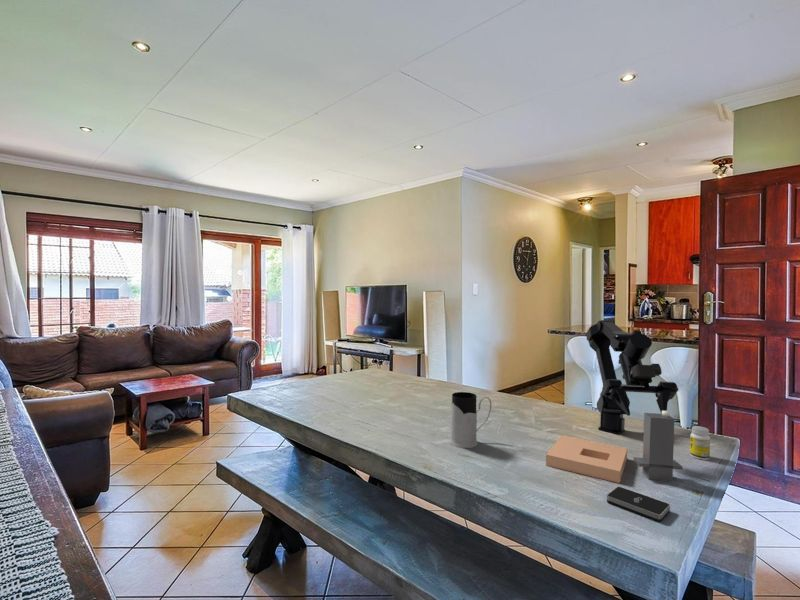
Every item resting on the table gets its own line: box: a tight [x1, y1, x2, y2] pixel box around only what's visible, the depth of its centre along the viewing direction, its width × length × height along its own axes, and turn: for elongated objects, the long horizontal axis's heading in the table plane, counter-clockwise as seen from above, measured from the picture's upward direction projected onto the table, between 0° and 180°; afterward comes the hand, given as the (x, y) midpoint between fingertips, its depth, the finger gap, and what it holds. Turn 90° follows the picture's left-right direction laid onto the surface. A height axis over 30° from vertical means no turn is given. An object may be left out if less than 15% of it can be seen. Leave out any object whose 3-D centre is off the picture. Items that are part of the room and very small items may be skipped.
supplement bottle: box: [689, 425, 711, 461], centre depth 121 cm, size 5×5×8 cm
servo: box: [633, 410, 684, 482], centre depth 107 cm, size 10×4×17 cm, turn 80°
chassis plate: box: [545, 434, 628, 484], centre depth 116 cm, size 18×18×3 cm
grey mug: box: [449, 391, 492, 449], centre depth 131 cm, size 9×14×15 cm, turn 111°
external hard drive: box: [606, 486, 671, 523], centre depth 93 cm, size 7×11×2 cm, turn 42°
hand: (646, 416), depth 115 cm, fingers open, 9 cm apart
